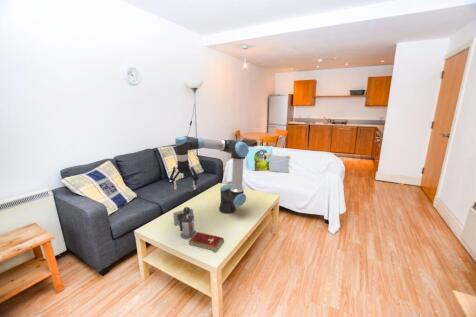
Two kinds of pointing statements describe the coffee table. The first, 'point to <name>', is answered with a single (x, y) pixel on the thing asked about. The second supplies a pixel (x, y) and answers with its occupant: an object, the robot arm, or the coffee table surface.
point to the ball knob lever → (186, 211)
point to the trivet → (187, 237)
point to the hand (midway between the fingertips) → (185, 189)
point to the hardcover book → (206, 241)
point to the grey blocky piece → (187, 226)
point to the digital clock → (181, 216)
